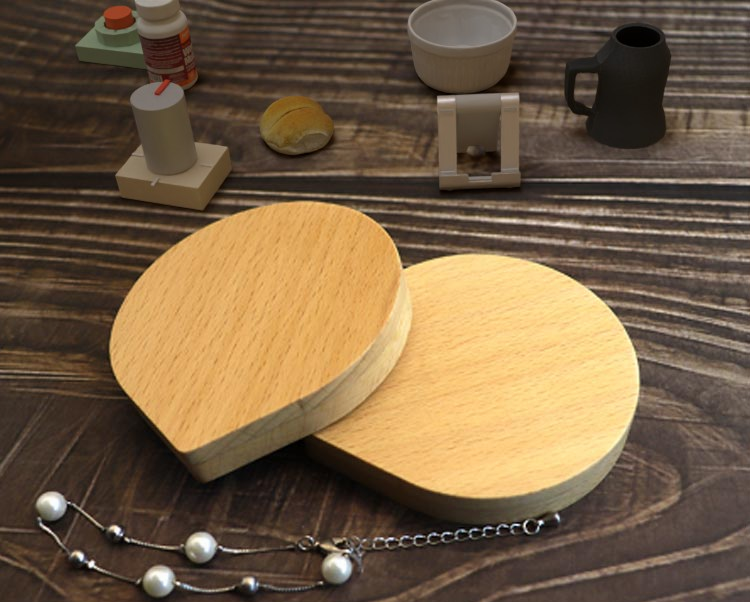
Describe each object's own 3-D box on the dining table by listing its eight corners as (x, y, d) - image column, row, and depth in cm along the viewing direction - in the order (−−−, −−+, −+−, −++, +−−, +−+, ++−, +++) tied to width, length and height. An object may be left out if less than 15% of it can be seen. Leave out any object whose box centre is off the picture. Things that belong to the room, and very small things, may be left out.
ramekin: (536, 67, 127) (540, 15, 122) (468, 113, 120) (469, 59, 115) (455, 36, 133) (455, -16, 128) (386, 77, 127) (384, 25, 122)
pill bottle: (201, 89, 127) (184, 3, 119) (152, 98, 127) (132, 11, 118) (196, 65, 132) (179, -19, 123) (148, 73, 131) (128, -11, 123)
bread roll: (314, 108, 123) (311, 78, 120) (343, 145, 117) (340, 114, 114) (250, 126, 121) (245, 96, 118) (276, 164, 115) (271, 134, 112)
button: (101, 29, 132) (98, 17, 131) (114, 17, 135) (111, 4, 133) (126, 32, 131) (123, 20, 130) (139, 19, 134) (136, 7, 132)
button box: (79, 61, 134) (70, 32, 131) (108, 32, 139) (100, 4, 136) (146, 69, 132) (139, 40, 129) (173, 39, 137) (167, 11, 134)
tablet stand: (439, 194, 110) (439, 127, 104) (437, 152, 115) (436, 86, 109) (519, 191, 109) (524, 123, 103) (513, 149, 115) (517, 82, 109)
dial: (184, 178, 109) (169, 110, 103) (137, 171, 110) (119, 104, 104) (205, 149, 113) (191, 82, 107) (160, 143, 114) (144, 76, 108)
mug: (654, 101, 120) (668, 11, 112) (675, 144, 114) (693, 52, 105) (553, 110, 120) (560, 20, 112) (569, 154, 113) (578, 62, 105)
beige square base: (117, 202, 112) (110, 178, 110) (157, 153, 118) (151, 129, 116) (199, 215, 109) (194, 191, 107) (235, 164, 116) (231, 140, 113)
